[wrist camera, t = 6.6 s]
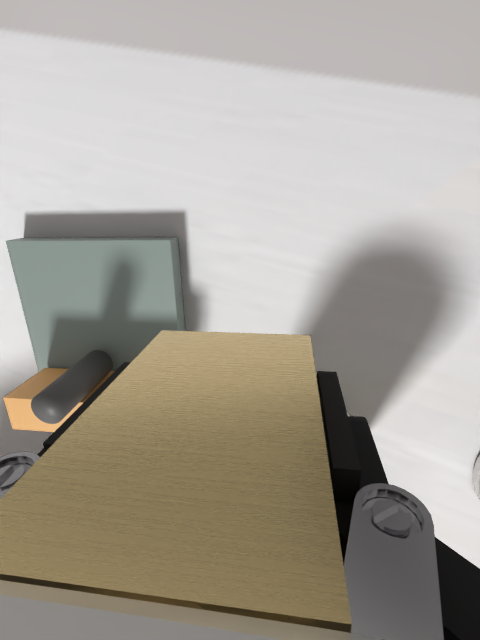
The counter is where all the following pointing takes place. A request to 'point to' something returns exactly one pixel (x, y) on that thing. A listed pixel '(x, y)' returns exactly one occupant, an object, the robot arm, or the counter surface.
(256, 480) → the brass block
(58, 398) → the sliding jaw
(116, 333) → the vise
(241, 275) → the counter surface
